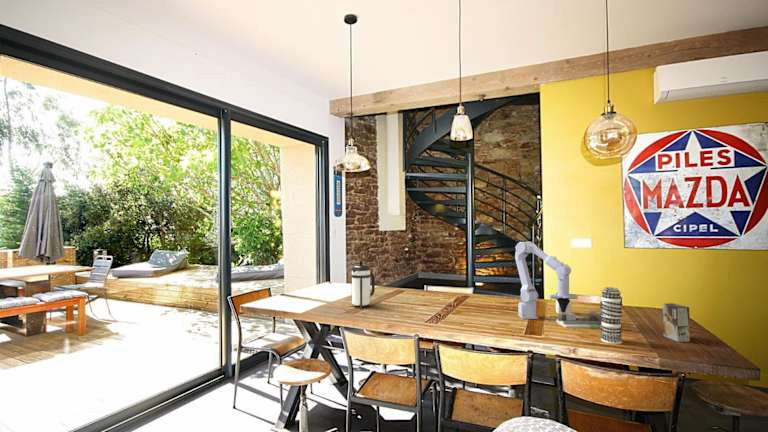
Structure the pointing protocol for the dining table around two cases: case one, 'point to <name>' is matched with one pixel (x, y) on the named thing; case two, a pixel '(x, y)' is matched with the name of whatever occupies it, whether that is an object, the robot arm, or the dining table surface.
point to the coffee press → (362, 284)
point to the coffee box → (676, 322)
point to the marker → (589, 317)
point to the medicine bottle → (558, 309)
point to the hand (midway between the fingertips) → (563, 312)
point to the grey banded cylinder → (611, 316)
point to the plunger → (569, 317)
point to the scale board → (582, 322)
